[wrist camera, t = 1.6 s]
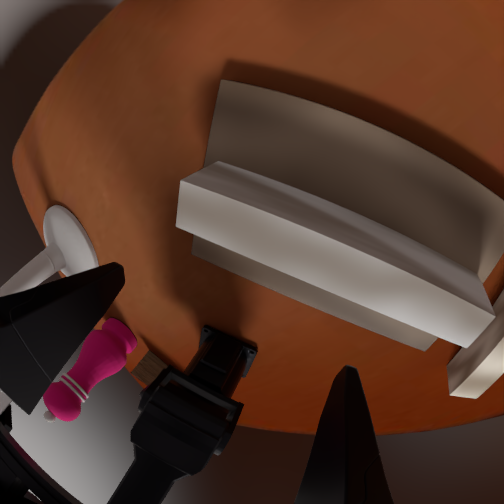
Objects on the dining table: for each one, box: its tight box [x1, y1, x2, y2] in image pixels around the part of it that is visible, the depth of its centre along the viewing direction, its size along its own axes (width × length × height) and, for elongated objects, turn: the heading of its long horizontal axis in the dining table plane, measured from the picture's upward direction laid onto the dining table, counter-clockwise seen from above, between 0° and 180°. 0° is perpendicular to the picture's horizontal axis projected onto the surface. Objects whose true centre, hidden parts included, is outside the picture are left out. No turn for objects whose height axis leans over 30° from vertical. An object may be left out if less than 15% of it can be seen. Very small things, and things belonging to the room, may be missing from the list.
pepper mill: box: [43, 318, 137, 423], centre depth 32 cm, size 7×7×20 cm
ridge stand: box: [176, 79, 504, 351], centre depth 16 cm, size 14×22×6 cm, turn 76°
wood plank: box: [131, 350, 168, 385], centre depth 38 cm, size 15×2×5 cm, turn 48°
